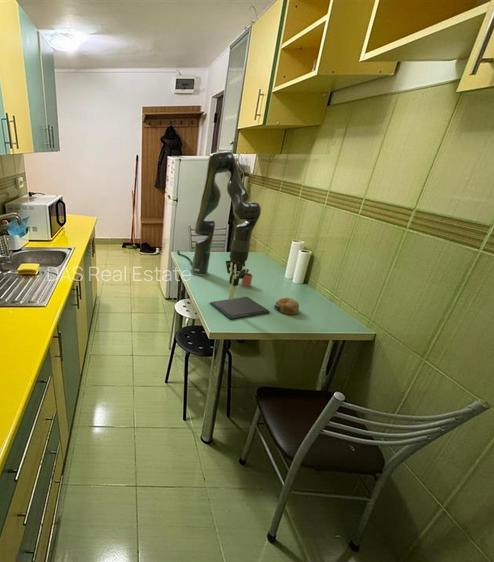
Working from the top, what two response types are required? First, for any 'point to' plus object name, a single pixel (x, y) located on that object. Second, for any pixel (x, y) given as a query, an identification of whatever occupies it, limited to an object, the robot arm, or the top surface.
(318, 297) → the top surface
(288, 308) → the bread roll
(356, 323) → the top surface
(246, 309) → the plate
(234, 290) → the stylus
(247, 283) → the pen pot
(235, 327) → the top surface
